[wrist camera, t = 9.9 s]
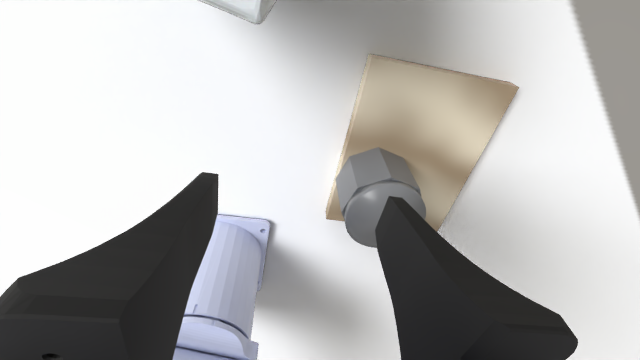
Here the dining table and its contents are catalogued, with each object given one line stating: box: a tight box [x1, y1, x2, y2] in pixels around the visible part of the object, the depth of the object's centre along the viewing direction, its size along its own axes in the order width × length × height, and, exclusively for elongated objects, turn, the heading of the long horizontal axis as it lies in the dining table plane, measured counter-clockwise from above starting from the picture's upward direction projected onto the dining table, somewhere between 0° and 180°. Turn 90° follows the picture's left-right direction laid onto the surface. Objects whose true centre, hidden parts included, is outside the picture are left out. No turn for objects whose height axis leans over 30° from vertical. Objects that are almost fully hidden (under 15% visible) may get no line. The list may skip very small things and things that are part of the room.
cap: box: [336, 147, 426, 248], centre depth 22 cm, size 5×5×4 cm
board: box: [326, 54, 519, 231], centre depth 23 cm, size 13×10×1 cm
